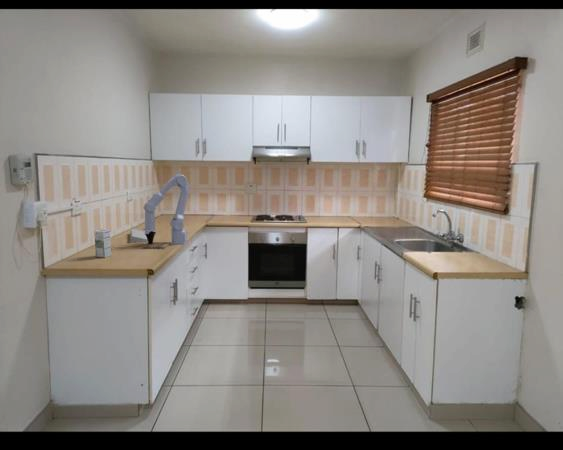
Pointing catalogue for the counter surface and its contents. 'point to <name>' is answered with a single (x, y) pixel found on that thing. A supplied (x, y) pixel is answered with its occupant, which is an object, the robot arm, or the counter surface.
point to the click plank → (150, 245)
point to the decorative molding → (137, 236)
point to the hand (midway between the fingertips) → (150, 243)
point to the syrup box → (102, 243)
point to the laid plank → (162, 245)
